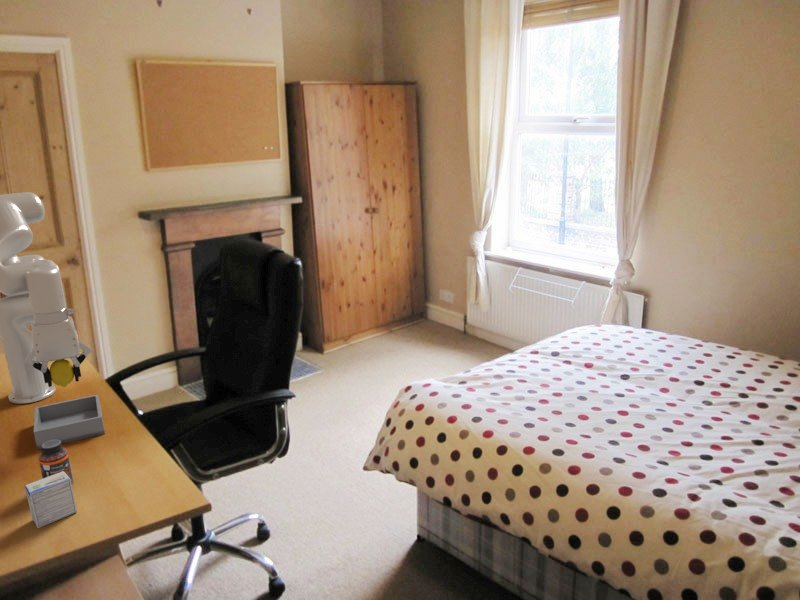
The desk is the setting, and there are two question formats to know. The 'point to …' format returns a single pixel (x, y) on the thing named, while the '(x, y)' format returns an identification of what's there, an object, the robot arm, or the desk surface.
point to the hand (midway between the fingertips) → (63, 381)
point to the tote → (68, 420)
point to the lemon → (61, 372)
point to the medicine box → (51, 499)
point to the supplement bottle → (54, 459)
